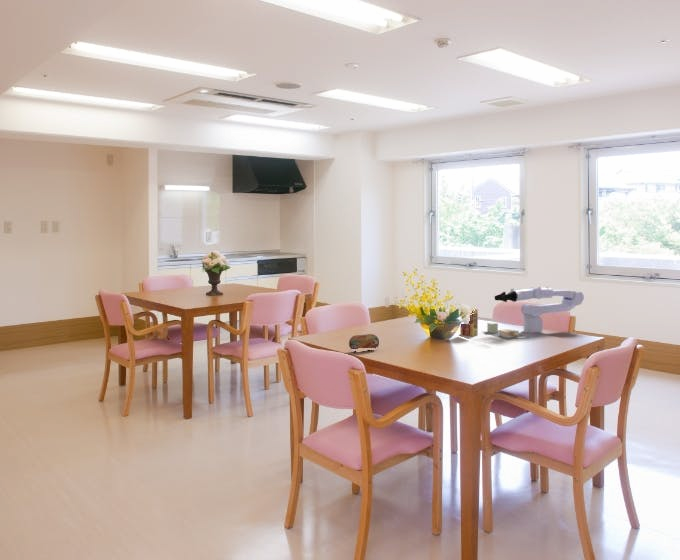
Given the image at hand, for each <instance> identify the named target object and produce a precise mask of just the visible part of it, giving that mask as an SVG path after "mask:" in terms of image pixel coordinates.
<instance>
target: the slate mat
mask: <svg viewBox="0 0 680 560" xmlns="http://www.w3.org/2000/svg"><path fill="white" fill-rule="evenodd" d="M500 330H501V329H498V333H489V332H487V331H482V334H483V333H484V334H486V335H489V336H494V338H495V337H496V338H499V339H501V340H505V341H511V340H512V341H513V340H519V339H521V340H522V339H530V337H529V336H525V335H522V334H519V337H509V338H506V337H503V336H500Z"/></svg>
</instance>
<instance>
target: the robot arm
mask: <svg viewBox="0 0 680 560" xmlns="http://www.w3.org/2000/svg"><path fill="white" fill-rule="evenodd" d="M553 297H562V301H561V302H557V303H556V302H555V303H547V304H529V303H524V304H523V305H522V306H521V308H520V311H521V314H522V315H523V332H524V333H525V332H526V333H540V334H544V332H543V318H542V317H541V316H542V315H543V314H552V313H560V312H562V313H563V312H570V311H571V310H573V309H574V308H575V307H577V306H579V305H581V304H582V303H583V301H584V298H585V295H584V294H583V292H581V291H575V290H570V289H552V288H551V287H550V286H545V287H540V286H539V287H538V288H537V287H530V288H525V289H517V290H515V289H514V288H511V289H510V291H509V292H508V293H507V294H506V291H503V292H502V293H500V294H497V295H494V301H502V302H504V303H507V302H508V301H511V302H512V303H513V302H519V301H527V300H533V299H536V300H537V299H538V300H540V299H552V298H553Z"/></svg>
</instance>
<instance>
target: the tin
mask: <svg viewBox="0 0 680 560" xmlns="http://www.w3.org/2000/svg"><path fill="white" fill-rule="evenodd" d="M379 345H380V340H379V338H378V336H377V335H376V334H373V333H367V334H366V333H365V334H356V335H353V336H351V337H350V339H349V341H348V347H349V349H350V348H351V349H358V348H376V347H377V348H378V347H379ZM351 349H350V350H351Z"/></svg>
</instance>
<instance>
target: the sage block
mask: <svg viewBox="0 0 680 560" xmlns="http://www.w3.org/2000/svg"><path fill="white" fill-rule="evenodd" d="M486 323H487V325H486V326H487V327H486V328H487V332H489V333H498V330H499V326H498V325H499V324H498V323H497V322H486Z"/></svg>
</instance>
